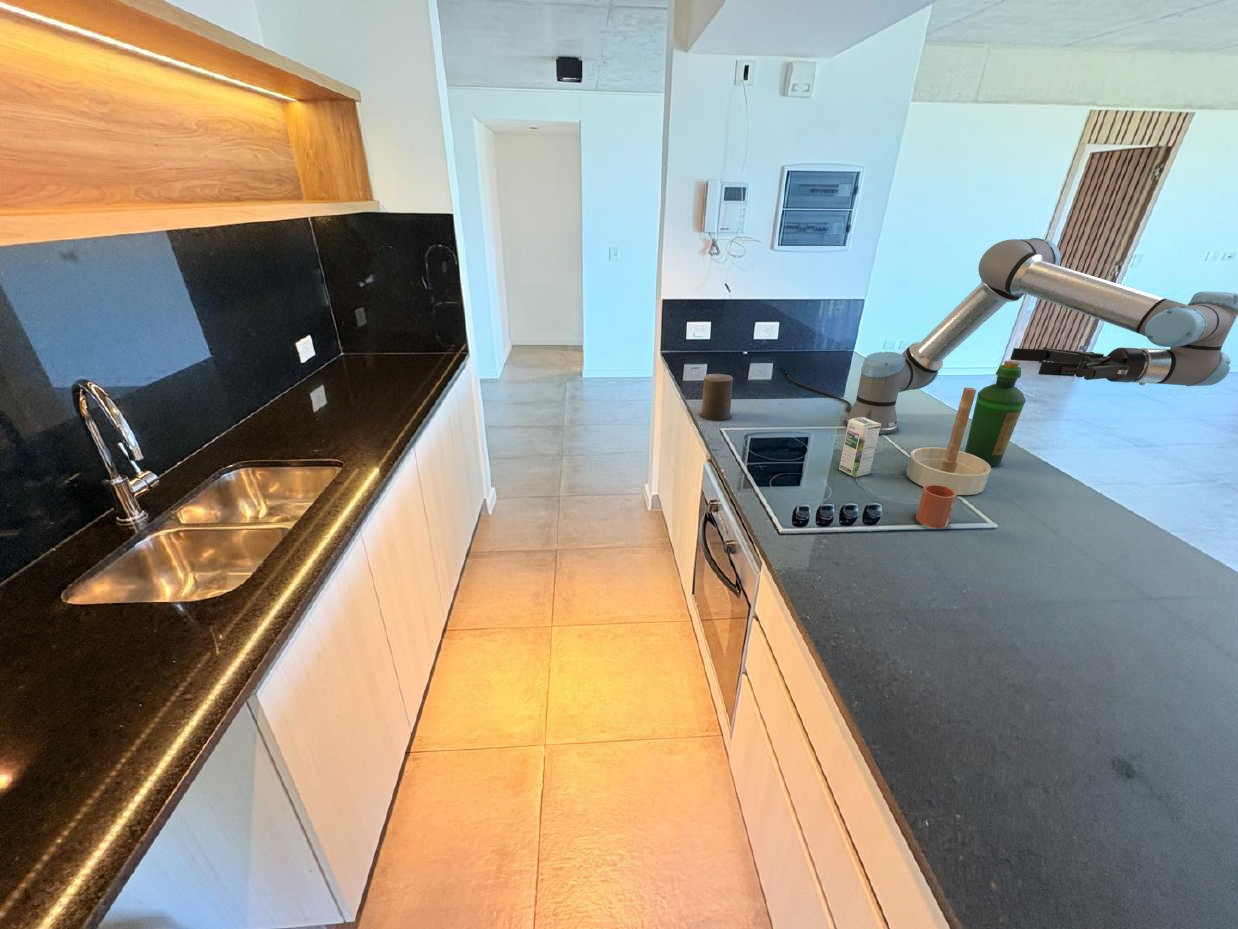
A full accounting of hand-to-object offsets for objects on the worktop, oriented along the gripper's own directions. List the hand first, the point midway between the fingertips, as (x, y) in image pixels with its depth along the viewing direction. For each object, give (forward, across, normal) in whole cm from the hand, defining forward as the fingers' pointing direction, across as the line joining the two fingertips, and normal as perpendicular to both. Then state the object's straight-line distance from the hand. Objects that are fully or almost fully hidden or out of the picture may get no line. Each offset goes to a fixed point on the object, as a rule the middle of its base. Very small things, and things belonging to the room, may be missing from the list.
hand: (1025, 360), depth 121 cm
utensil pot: (+19, -23, -32) cm, 44 cm away
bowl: (+10, 0, -32) cm, 33 cm away
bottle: (-5, +16, -32) cm, 36 cm away
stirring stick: (+10, 0, -31) cm, 33 cm away
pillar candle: (+70, +39, -32) cm, 86 cm away
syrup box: (+31, +1, -32) cm, 45 cm away
